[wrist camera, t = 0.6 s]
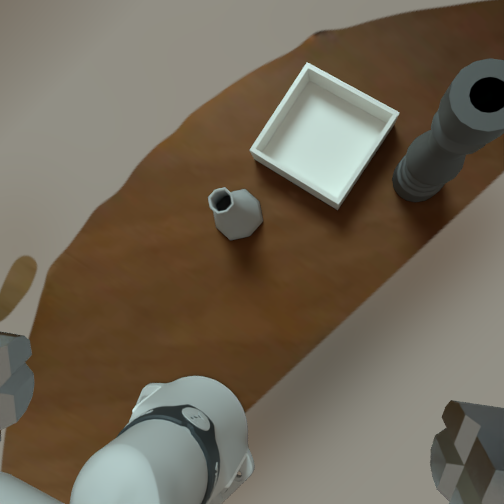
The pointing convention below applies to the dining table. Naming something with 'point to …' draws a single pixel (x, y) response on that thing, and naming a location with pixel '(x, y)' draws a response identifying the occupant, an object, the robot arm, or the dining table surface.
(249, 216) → the flask
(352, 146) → the box
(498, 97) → the candle holder
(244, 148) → the dining table surface
